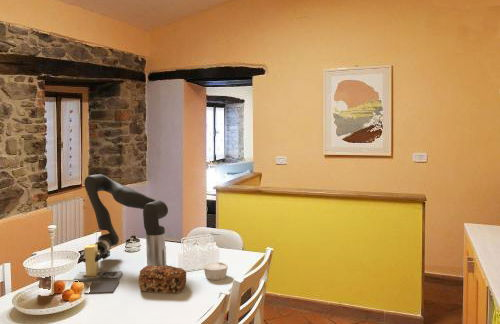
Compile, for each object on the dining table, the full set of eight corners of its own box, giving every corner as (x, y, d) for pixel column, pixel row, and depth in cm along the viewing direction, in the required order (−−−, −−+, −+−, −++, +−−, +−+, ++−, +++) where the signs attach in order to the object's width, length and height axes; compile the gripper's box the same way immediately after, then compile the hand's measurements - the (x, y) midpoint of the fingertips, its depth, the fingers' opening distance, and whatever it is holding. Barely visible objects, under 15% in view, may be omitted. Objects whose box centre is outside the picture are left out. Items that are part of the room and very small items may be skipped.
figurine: (49, 297, 181) (47, 269, 180) (34, 296, 182) (32, 268, 181) (60, 290, 188) (58, 264, 187) (45, 289, 189) (44, 263, 188)
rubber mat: (119, 282, 197) (119, 281, 197) (112, 292, 185) (112, 291, 185) (92, 283, 196) (92, 282, 196) (84, 293, 184) (84, 292, 184)
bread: (138, 292, 186) (137, 269, 185) (147, 283, 196) (147, 261, 195) (180, 294, 183) (179, 271, 182) (187, 285, 193) (187, 263, 192)
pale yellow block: (99, 272, 205) (97, 244, 204) (96, 276, 201) (94, 247, 199) (89, 273, 205) (87, 244, 204) (86, 276, 200) (84, 247, 199)
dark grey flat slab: (122, 273, 208) (122, 270, 208) (118, 280, 200) (118, 277, 199) (80, 275, 207) (79, 272, 207) (73, 282, 198) (73, 278, 198)
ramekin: (232, 276, 204) (232, 265, 203) (215, 283, 195) (214, 271, 195) (216, 271, 211) (216, 260, 211) (199, 277, 203) (198, 266, 203)
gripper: (85, 242, 215) (73, 252, 198) (114, 241, 216) (105, 251, 199) (85, 257, 216) (74, 268, 199) (115, 255, 217) (106, 267, 200)
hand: (90, 260), depth 199 cm, fingers closed on pale yellow block, 4 cm apart
